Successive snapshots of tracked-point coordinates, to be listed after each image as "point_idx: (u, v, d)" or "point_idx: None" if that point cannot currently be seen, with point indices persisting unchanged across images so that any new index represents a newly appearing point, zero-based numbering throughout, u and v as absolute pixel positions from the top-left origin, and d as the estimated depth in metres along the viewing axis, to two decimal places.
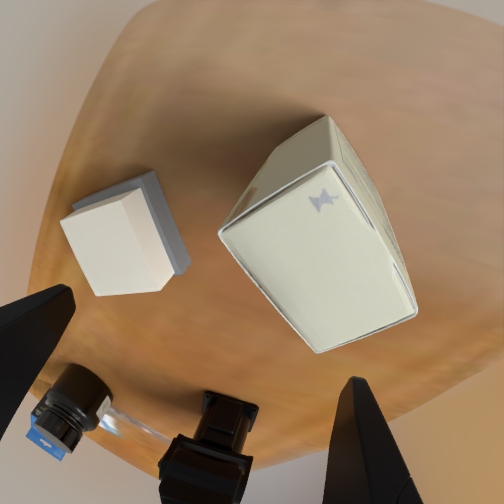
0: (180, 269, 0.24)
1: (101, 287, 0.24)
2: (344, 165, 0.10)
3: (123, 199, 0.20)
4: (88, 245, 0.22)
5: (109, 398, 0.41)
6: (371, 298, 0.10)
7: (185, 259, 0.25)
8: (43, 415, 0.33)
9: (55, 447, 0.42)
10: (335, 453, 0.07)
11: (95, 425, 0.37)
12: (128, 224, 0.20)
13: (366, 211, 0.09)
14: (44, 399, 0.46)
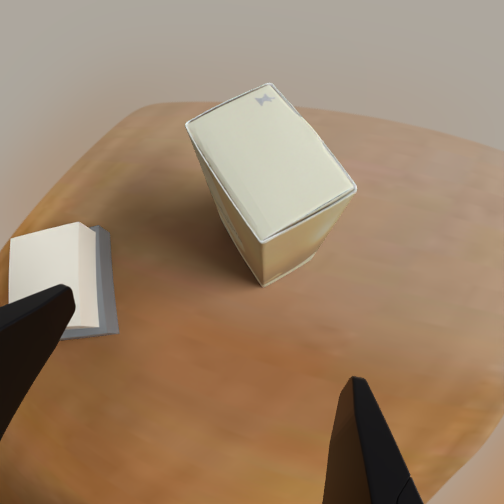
0: (107, 327, 0.21)
1: None
2: None
3: (81, 223, 0.20)
4: (26, 266, 0.19)
5: None
6: (309, 168, 0.11)
7: (113, 324, 0.22)
8: None
9: None
10: (335, 453, 0.07)
11: None
12: (76, 246, 0.19)
13: (294, 109, 0.12)
14: None
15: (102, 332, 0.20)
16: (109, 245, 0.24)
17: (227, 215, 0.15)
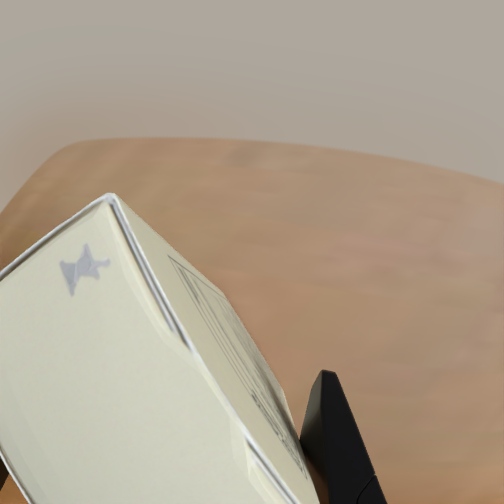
0: None
1: None
2: (166, 255, 0.05)
3: None
4: None
5: None
6: None
7: None
8: None
9: None
10: (303, 447, 0.07)
11: None
12: None
13: (172, 306, 0.04)
14: None
15: None
16: None
17: None
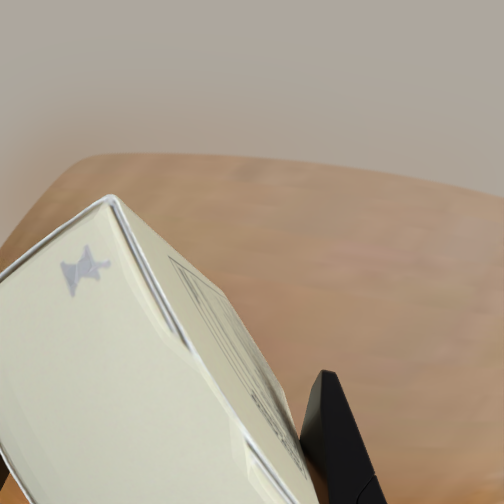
0: None
1: None
2: (167, 256, 0.05)
3: None
4: None
5: None
6: None
7: None
8: None
9: None
10: (303, 447, 0.07)
11: None
12: None
13: (172, 307, 0.04)
14: None
15: None
16: None
17: None
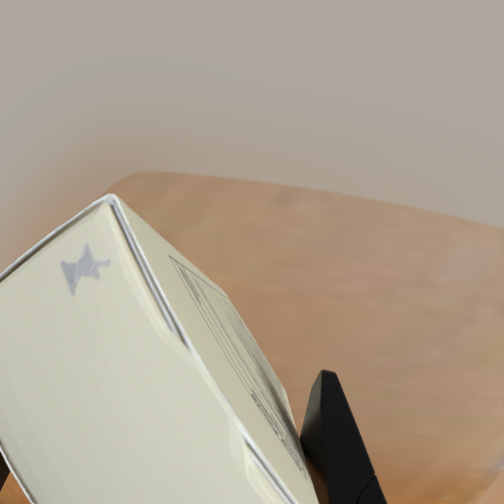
0: None
1: None
2: (167, 255, 0.05)
3: None
4: None
5: None
6: None
7: None
8: None
9: None
10: (303, 447, 0.07)
11: None
12: None
13: (171, 305, 0.04)
14: None
15: None
16: None
17: None
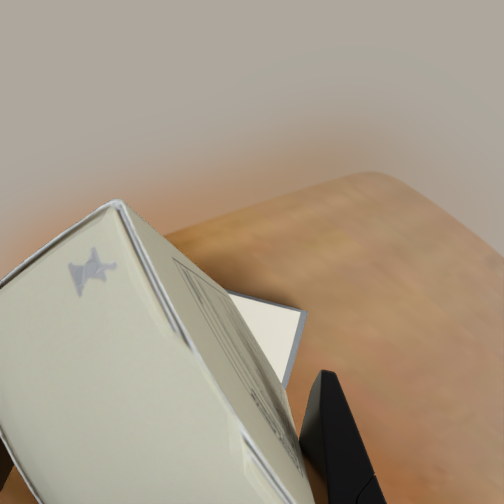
0: None
1: None
2: (171, 258, 0.06)
3: None
4: None
5: None
6: None
7: None
8: None
9: None
10: (303, 447, 0.07)
11: None
12: (289, 342, 0.17)
13: (175, 307, 0.04)
14: None
15: None
16: None
17: None
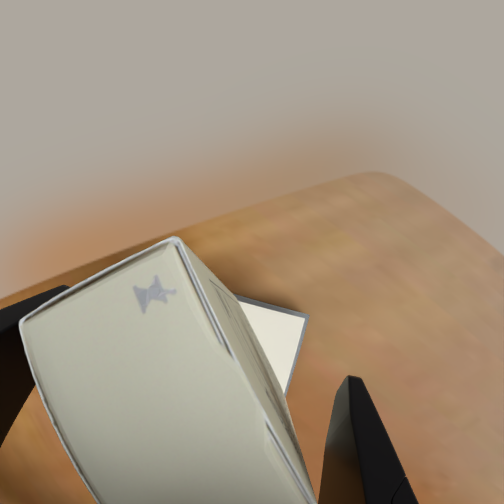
0: None
1: None
2: (209, 280, 0.07)
3: None
4: None
5: None
6: (225, 483, 0.05)
7: None
8: None
9: None
10: (331, 452, 0.07)
11: None
12: (293, 348, 0.17)
13: (221, 326, 0.05)
14: None
15: None
16: None
17: None
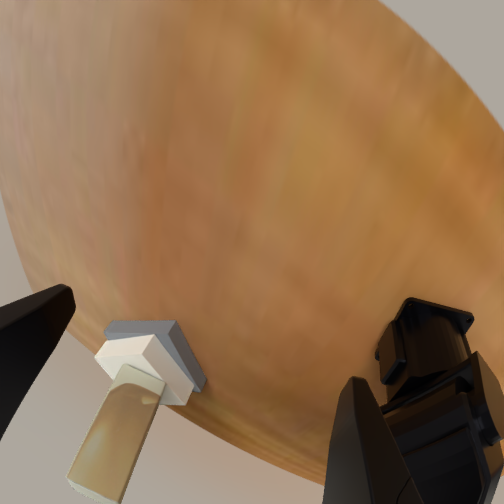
0: (164, 333, 0.26)
1: (171, 397, 0.27)
2: None
3: (95, 355, 0.27)
4: None
5: None
6: (81, 489, 0.16)
7: (167, 324, 0.27)
8: None
9: None
10: (335, 453, 0.07)
11: None
12: (105, 358, 0.27)
13: None
14: None
15: (168, 337, 0.26)
16: None
17: None
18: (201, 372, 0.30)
